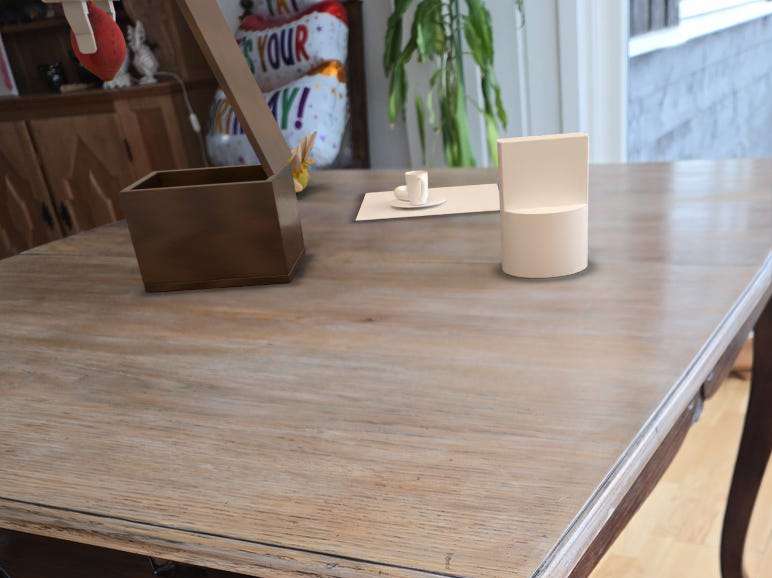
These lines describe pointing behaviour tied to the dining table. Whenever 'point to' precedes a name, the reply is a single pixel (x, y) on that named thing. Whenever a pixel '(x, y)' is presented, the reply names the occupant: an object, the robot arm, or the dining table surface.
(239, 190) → the chest
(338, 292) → the dining table surface
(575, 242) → the base with upright slab
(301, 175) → the decorative flower
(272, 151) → the chest lid
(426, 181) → the teacup and saucer
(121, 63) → the onion
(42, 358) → the dining table surface
